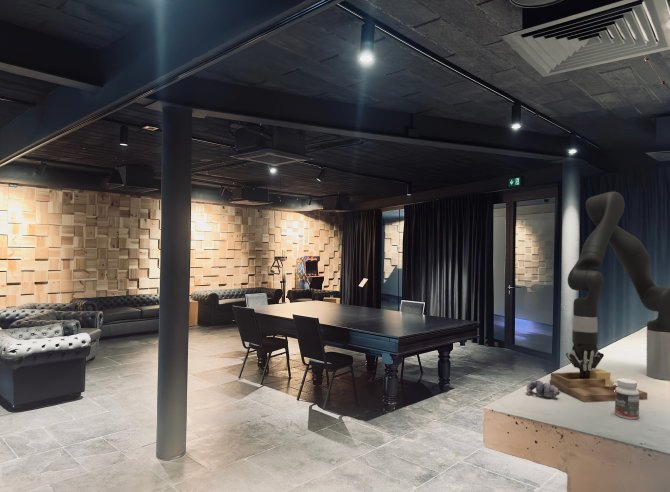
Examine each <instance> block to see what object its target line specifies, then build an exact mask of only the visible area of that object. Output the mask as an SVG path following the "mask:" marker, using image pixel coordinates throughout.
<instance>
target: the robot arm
mask: <svg viewBox="0 0 670 492" xmlns="http://www.w3.org/2000/svg"><path fill="white" fill-rule="evenodd" d="M625 205H626V204H625V199H624V197H623V195H622V194H621V193H620V192H617V191H608V192H605V193H600V194H598V195H593V196H590V197H589V198H588V199H587V200H585V210H586V213H587V214H588V216H589V218H590V220H591V221H592V222H593V224H594V225H595V228H594V230H593V231H592V232H591V233H590V234H589V235H588V236H587V238H586V240H585V242H583V243H584V244H583V245H582V249H581V252H580V255H579V258H578V260H577V261H576V263H575V264H574V266H573V267H572V269H571V270H570V271H569V273H568V276H567V285H568V287H569V288H570V289H571V290H573V291H583V292H588V294H587V295H586V296H585V297H577V298H575V299H574V300H573V306H572V307H573V308H572V309H573V315H572V316H573V317H572V332H571V333H572V334H571V335H572V337H571V338H572V344H573V345H572V347H571V348H572V349H571V351H570V352H566V353H565V356H566V357H567V358H568V360H569V362H570V363H571V365H572V366H573V367H574V368H576V369H578V370H579V372H580V379H590V370H591V369H597V368H598V365H599V363H600V362H601V360H602V359H603V358H604V356H605V355H604V353H602V352H600V351H599V349H598V346H597V345H598V344H599V322H598V303H599V299H600V296H601V291H602V289H603V287H604V283H605V278H604V276H603V274H602V273H601V272H600V271H599V270H596V269H599V268H601V267H602V265H603V262H604V258H605V256H606V251H607V247H608V245H610V247H611V249H612V250H613V252H614V254H615V256H616V258H617V260H618V262H619V263H620V265H621V266H622V268H623V269H624V270H625V272H626V273H627V276H628V277H629V278H630V279H629V280H630V281H631V282H632V284H633V287H634V288H635V291H636V293H637V295H638V297H639V299H640V302H641V303H642V305H643V306H644V307H645V309H647V310H649V311H652V312H658V313H657V317H656V319H653V320H649V321H647V323H646V376H648V377H650V378H653V379H658V380H665V381H670V287H662V286H661V287H660V286H657V285H656V284H655V282H654V281H653V279H652V278H651V276H650V271H649V269H650V264H651V263H650V262H651V259H650V255H649V253H648V251H647V248H646V247H645V246H644V244H643V243H642V241H641V240H640V239H639V238H637V237H636V236H635V235H633V234H631V233H630V232H628V231H626V230H624V229H623V228H621V227H620V226H618V225H619V221H620V220H621V217H622V216H623V214H624V211H625Z"/></svg>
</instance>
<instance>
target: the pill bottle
mask: <svg viewBox="0 0 670 492" xmlns="http://www.w3.org/2000/svg"><path fill="white" fill-rule="evenodd" d="M617 384H618V387H616V389H615V401H614V412H615V413H614V414H615V415H616V416H618V417H621V418H622V419H626V420H627V419H628V420H637V419H639V417H640V400H639V391H638V390H639V389H638V388H637V387H638V382H637V381H636V380H633V379H629V378H623V377H622V378H618V379H617ZM637 389H638V390H637Z"/></svg>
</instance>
